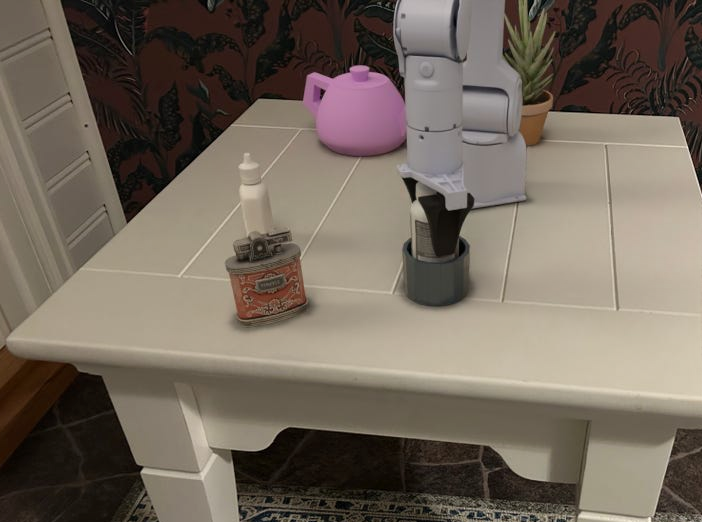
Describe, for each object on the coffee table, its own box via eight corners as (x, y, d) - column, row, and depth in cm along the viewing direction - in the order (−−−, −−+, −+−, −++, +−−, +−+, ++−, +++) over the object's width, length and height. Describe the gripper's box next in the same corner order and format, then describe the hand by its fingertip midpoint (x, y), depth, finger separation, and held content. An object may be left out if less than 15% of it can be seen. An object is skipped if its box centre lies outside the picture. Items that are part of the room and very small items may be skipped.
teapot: (284, 148, 121) (273, 73, 113) (330, 118, 132) (323, 47, 125) (405, 168, 114) (402, 90, 107) (443, 134, 125) (442, 61, 118)
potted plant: (495, 127, 128) (501, -30, 113) (550, 130, 127) (563, -29, 112) (490, 149, 120) (495, -17, 105) (548, 152, 119) (562, -15, 104)
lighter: (242, 331, 80) (224, 250, 73) (234, 315, 82) (216, 235, 76) (312, 311, 83) (301, 232, 76) (303, 297, 85) (291, 219, 79)
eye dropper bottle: (235, 249, 94) (217, 160, 87) (260, 230, 98) (245, 143, 91) (264, 256, 93) (248, 165, 85) (288, 236, 97) (275, 148, 89)
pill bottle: (468, 267, 84) (469, 187, 78) (428, 281, 81) (426, 199, 75) (442, 248, 87) (441, 170, 81) (403, 260, 85) (399, 181, 79)
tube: (456, 267, 90) (456, 227, 87) (478, 299, 84) (479, 257, 81) (397, 278, 88) (394, 237, 85) (415, 311, 82) (413, 269, 79)
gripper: (378, 103, 79) (385, 218, 87) (417, 153, 68) (421, 279, 76) (440, 96, 80) (441, 210, 89) (488, 143, 69) (484, 267, 78)
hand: (436, 241), depth 82 cm, fingers closed on pill bottle, 5 cm apart
